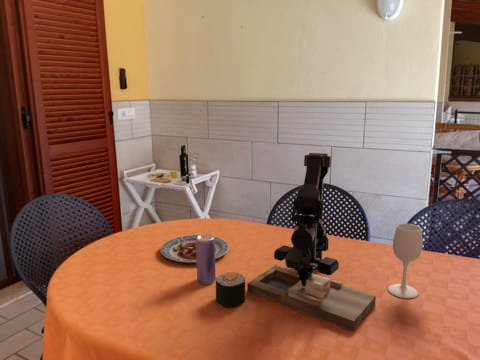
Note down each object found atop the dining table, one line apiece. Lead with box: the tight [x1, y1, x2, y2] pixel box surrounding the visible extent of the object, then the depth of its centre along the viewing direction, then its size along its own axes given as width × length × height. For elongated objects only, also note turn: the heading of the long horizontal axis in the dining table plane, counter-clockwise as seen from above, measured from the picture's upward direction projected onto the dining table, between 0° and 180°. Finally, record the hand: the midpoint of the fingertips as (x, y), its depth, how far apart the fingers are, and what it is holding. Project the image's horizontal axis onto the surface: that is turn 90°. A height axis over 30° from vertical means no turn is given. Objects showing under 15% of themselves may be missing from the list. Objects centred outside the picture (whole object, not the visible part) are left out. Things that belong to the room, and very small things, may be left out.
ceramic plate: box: [160, 234, 230, 263], centre depth 157 cm, size 26×26×3 cm
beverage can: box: [196, 233, 217, 285], centre depth 133 cm, size 6×6×15 cm
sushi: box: [215, 271, 246, 309], centre depth 121 cm, size 8×8×8 cm
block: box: [306, 273, 331, 298], centre depth 121 cm, size 5×5×4 cm
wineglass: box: [387, 223, 424, 300], centre depth 125 cm, size 9×9×21 cm
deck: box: [246, 264, 377, 332], centre depth 123 cm, size 16×34×4 cm, turn 53°
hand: (304, 285), depth 124 cm, fingers closed
